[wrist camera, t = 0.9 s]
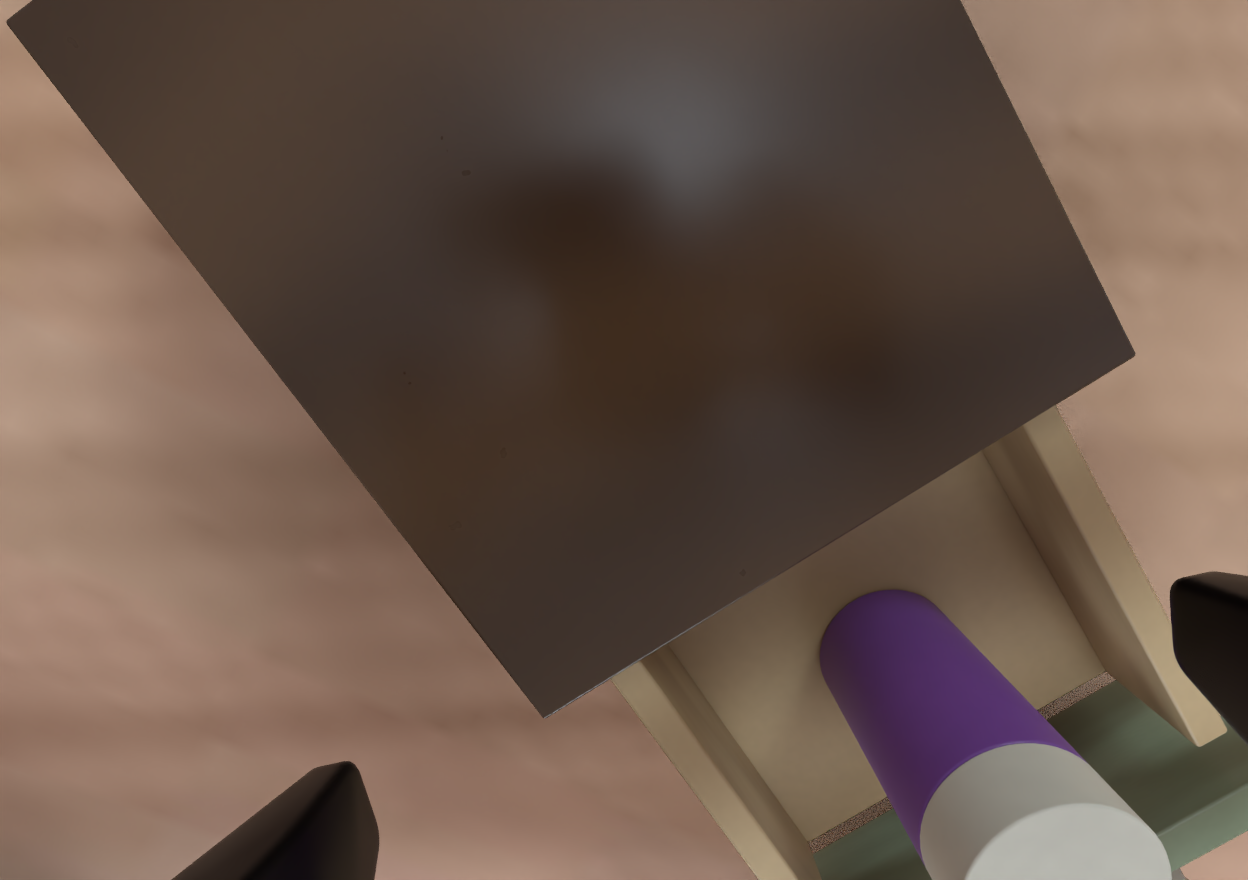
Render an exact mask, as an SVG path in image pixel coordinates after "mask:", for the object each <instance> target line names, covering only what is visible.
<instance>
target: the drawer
mask: <svg viewBox="0 0 1248 880" xmlns="http://www.w3.org/2000/svg"><path fill="white" fill-rule="evenodd" d="M882 590H903V591H908V592H912V593H916V594H918V595H921V596H923V597H925V598H926V599H928V600H930V601H931V602H932V603H934V604H935V605H936V606H937V607H938V608H939V609H940V610H941V611H942V612H943V613H944V614H945V615H946V616H947V617H948V618H949V619H950V621H951V622H952V623H953V624H954V625H955V626H956V627H957V628H958V629H959V630H960V631H961V632H962V633H963V634H964V635H965V636H966V637H967V638H968V639H969V640H970V641H971V642H972V643H973V644H974V645H975V646H976V648H977V649H978V650H979V651H980V652H981V653H982V654H983V655H984V656H985V657H986V658H987V659H988V660H989V661H990V662H991V663H992V664H993V665H994V666H995V667H996V668H997V669H998V670H999V671H1000V672H1001V674H1002V675H1003V676H1004V677H1005V678H1006V679H1007V680H1008V681H1009V682H1010V683H1011V684H1012V685H1013V686H1014V687H1015V688H1016V689H1017V690H1018V691H1019V692H1020V693H1021V694H1022V695H1023V696H1024V697H1025V698H1026V700H1027V701H1028V702H1029V703H1030V704H1031V705H1032V706H1033V707H1034V708H1035V709H1036V710H1039V709H1041V708H1042V707H1044V706H1046V705H1048V704H1049V703H1051V702H1053V701H1055V700H1056V699H1058V698H1060V697H1062V696H1063V695H1065V694H1067V693H1068V692H1070V691H1072V690H1074V689H1075V688H1077V687H1079V686H1081V685H1082V684H1084V683H1086V682H1088V681H1089V680H1091V679H1093V678H1094V677H1096V676H1098V675H1100V674H1101V673H1103V672H1105V671H1106V672H1107V673H1108V674H1110V675H1111V676H1112V677H1113V678H1114V679H1116V680H1115V681H1113V682H1112V683H1110V684H1108V685H1106V686H1105V687H1103V688H1101V689H1099V690H1098V691H1096V692H1094V693H1092V694H1091V695H1089V696H1087V697H1085V698H1084V699H1082V700H1080V701H1079V702H1077V703H1075V704H1073V705H1072V706H1070V707H1068V708H1066V709H1065V710H1063V711H1061V712H1059V713H1058V714H1056V715H1054V716H1052V717H1051V718H1049V719H1047V721H1048V722H1049V723H1050V724H1051V725H1052V727H1053V728H1054V729H1055V730H1056V731H1057V732H1058V733H1059V734H1060V735H1061V736H1062V737H1063V738H1064V739H1065V740H1066V741H1067V742H1068V743H1069V744H1070V745H1071V746H1072V747H1073V748H1074V749H1075V750H1076V751H1077V753H1078V754H1079V755H1080V756H1081V757H1082V758H1083V759H1084V760H1085V761H1086V762H1087V763H1088V764H1089V765H1090V766H1091V767H1092V768H1093V769H1094V770H1095V771H1096V772H1097V773H1098V774H1099V775H1100V776H1101V777H1102V779H1103V780H1104V781H1105V782H1106V783H1107V784H1108V785H1109V786H1110V787H1111V788H1112V789H1113V790H1114V791H1115V792H1116V793H1117V794H1118V795H1119V796H1120V797H1121V798H1122V799H1123V800H1124V801H1125V802H1126V803H1127V804H1128V806H1129V807H1130V808H1131V809H1132V810H1133V811H1134V812H1135V813H1136V814H1137V815H1138V816H1139V817H1140V818H1141V819H1142V820H1143V821H1144V822H1145V823H1146V824H1147V825H1148V826H1149V827H1150V828H1151V829H1152V830H1153V832H1154V833H1155V834H1156V835H1157V837H1158V838H1159V840H1160V841H1161V842H1162V844H1163V846H1164V849H1165V851H1166V853H1167V856H1168V859H1169V863H1170V866H1171V874H1172V880H1188V879H1187V878H1185V876H1184V875H1183V873H1182V871H1181V870H1180V867H1182V866H1184V865H1186V864H1188V863H1189V862H1191V861H1193V860H1195V859H1197V858H1199V857H1200V856H1202V855H1204V854H1206V853H1208V852H1210V851H1211V850H1213V849H1215V848H1217V847H1219V846H1221V845H1222V844H1224V843H1226V842H1228V841H1230V840H1232V839H1233V838H1235V837H1237V836H1239V835H1241V834H1242V833H1244V832H1246V831H1248V746H1247V744H1246V743H1245V742H1244V741H1243V740H1242V739H1241V738H1240V736H1239V735H1238V734H1237V733H1236V732H1235V731H1234V730H1233V729H1232V727H1231V726H1230V725H1229V724H1228V723H1227V722H1226V721H1225V719H1224V718H1223V717H1222V716H1221V715H1219V713H1218V711H1217V710H1216V709H1215V708H1214V707H1213V706H1212V705H1211V703H1210V702H1209V701H1208V700H1207V699H1206V698H1205V697H1204V696H1203V694H1202V693H1201V692H1200V691H1199V690H1198V689H1197V688H1196V686H1195V685H1194V684H1193V683H1192V682H1191V681H1190V680H1189V678H1188V677H1187V676H1186V675H1185V674H1184V672H1183V671H1182V669H1181V668H1180V666H1179V665H1178V662H1177V660H1176V658H1175V654H1174V650H1173V640H1172V624H1171V622H1170V620H1169V619H1168V617H1167V615H1166V613H1165V611H1164V609H1163V607H1162V605H1161V603H1160V602H1159V600H1158V598H1157V596H1156V594H1155V592H1154V590H1153V588H1152V586H1151V585H1150V583H1149V581H1148V579H1147V577H1146V575H1145V573H1144V571H1143V569H1142V568H1141V566H1140V564H1139V562H1138V560H1137V558H1136V556H1135V554H1134V552H1133V551H1132V549H1131V547H1130V545H1129V543H1128V541H1127V539H1126V537H1125V535H1124V534H1123V532H1122V530H1121V528H1120V526H1119V524H1118V522H1117V520H1116V518H1115V517H1114V515H1113V513H1112V511H1111V509H1110V507H1109V505H1108V503H1107V502H1106V500H1105V498H1104V496H1103V494H1102V492H1101V490H1100V488H1099V486H1098V485H1097V483H1096V481H1095V479H1094V477H1093V475H1092V473H1091V471H1090V469H1089V468H1088V466H1087V464H1086V462H1085V460H1084V458H1083V456H1082V454H1081V452H1080V451H1079V449H1078V447H1077V445H1076V443H1075V441H1074V439H1073V437H1072V435H1071V434H1070V432H1069V430H1068V428H1067V426H1066V424H1065V422H1064V420H1063V418H1062V417H1061V415H1060V413H1059V411H1058V409H1057V407H1056V405H1055V406H1053V407H1051V408H1050V409H1048V410H1047V411H1045V412H1043V413H1042V414H1040V415H1038V416H1037V417H1035V418H1034V419H1032V420H1030V421H1029V422H1027V423H1025V424H1024V425H1022V426H1020V427H1019V428H1017V429H1016V430H1014V431H1012V432H1011V433H1009V434H1007V435H1006V436H1004V437H1003V438H1001V439H999V440H998V441H996V442H994V443H993V444H991V445H990V446H988V447H986V448H985V449H983V450H981V451H980V452H978V453H977V454H975V455H973V456H972V457H970V458H968V459H967V460H965V461H964V462H962V463H960V464H959V465H957V466H955V467H954V468H952V469H951V470H949V471H947V472H946V473H944V474H942V475H941V476H939V477H938V478H936V479H934V480H933V481H931V482H929V483H928V484H926V485H925V486H923V487H921V488H920V489H918V490H916V491H915V492H913V493H912V494H910V495H908V496H907V497H905V498H903V499H902V500H900V501H899V502H897V503H895V504H894V505H892V506H890V507H889V508H887V509H886V510H884V511H882V512H881V513H879V514H877V515H876V516H874V517H873V518H871V519H869V520H868V521H866V522H864V523H863V524H861V525H859V526H858V527H856V528H855V529H853V530H851V531H850V532H848V533H846V534H845V535H843V536H842V537H840V538H838V539H837V540H835V541H833V542H832V543H830V544H829V545H827V546H825V547H824V548H822V549H820V550H819V551H817V552H816V553H814V554H812V555H811V556H809V557H807V558H806V559H804V560H803V561H801V562H799V563H798V564H796V565H794V566H793V567H791V568H790V569H788V570H786V571H785V572H783V573H781V574H780V575H778V576H777V577H775V578H773V579H772V580H770V581H768V582H767V583H765V584H764V585H762V586H760V587H759V588H757V589H755V590H754V591H752V592H751V593H749V594H747V595H746V596H744V597H742V598H741V599H739V600H738V601H736V602H734V603H733V604H731V605H729V606H728V607H726V608H725V609H723V610H721V611H720V612H718V613H716V614H715V615H713V616H711V617H710V618H708V619H707V620H705V621H703V622H702V623H700V624H698V625H697V626H695V627H694V628H692V629H690V630H689V631H687V632H685V633H684V634H682V635H681V636H679V637H677V638H676V639H674V640H672V641H671V642H669V643H668V644H666V645H664V646H663V647H661V648H659V649H658V650H656V651H655V652H653V653H651V654H650V655H648V656H646V657H645V658H643V659H642V660H640V661H638V662H637V663H635V664H633V665H632V666H630V667H629V668H627V669H625V670H624V671H622V672H620V673H619V674H617V675H616V676H614V677H612V678H611V681H612V682H613V683H614V685H615V686H616V687H617V689H618V690H619V692H620V693H621V694H622V696H623V697H624V698H625V700H626V701H627V702H628V704H629V705H630V706H631V708H632V709H633V710H634V712H635V713H636V715H637V716H638V717H639V719H640V720H641V721H642V723H643V724H644V725H645V727H646V728H647V729H648V731H649V732H650V734H651V735H652V736H653V738H654V739H655V740H656V742H657V743H658V744H659V746H660V747H661V748H662V750H663V751H664V752H665V754H666V755H667V757H668V758H669V759H670V761H671V762H672V763H673V765H674V766H675V767H676V769H677V770H678V771H679V773H680V774H681V775H682V777H683V778H684V780H685V781H686V782H687V784H688V785H689V786H690V788H691V789H692V790H693V792H694V793H695V794H696V796H697V797H698V799H699V800H700V801H701V803H702V804H703V805H704V807H705V808H706V809H707V811H708V812H709V813H710V815H711V816H712V817H713V819H714V820H715V822H716V823H717V824H718V826H719V827H720V828H721V830H722V831H723V832H724V834H725V835H726V836H727V838H728V839H729V840H730V842H731V843H732V845H733V846H734V847H735V849H736V850H737V851H738V853H739V854H740V855H741V857H742V858H743V859H744V861H745V862H746V864H747V865H748V866H749V868H750V869H751V870H752V872H753V873H754V874H755V876H756V877H757V878H758V880H932V878H931V877H930V875H929V873H928V871H927V869H926V867H925V865H924V864H923V862H922V860H921V858H920V856H919V854H918V853H917V851H916V849H915V847H914V845H913V843H912V841H911V840H910V838H909V836H908V834H907V832H906V830H905V828H904V827H903V825H902V823H901V821H900V819H899V817H898V815H897V814H896V812H895V810H894V808H892V809H891V810H889V811H887V812H885V813H884V814H882V815H880V816H878V817H877V818H875V819H873V820H871V821H870V822H868V823H866V824H864V825H863V826H861V827H859V828H858V829H856V830H854V831H852V832H851V833H849V834H847V835H845V836H844V837H842V838H840V839H838V840H837V841H835V842H833V843H831V844H830V845H828V846H826V847H824V848H823V849H821V850H819V851H817V852H816V853H814V854H812V851H811V849H810V846H809V843H808V842H810V841H812V840H813V839H815V838H817V837H819V836H820V835H822V834H824V833H826V832H827V831H829V830H831V829H833V828H834V827H836V826H838V825H839V824H841V823H843V822H845V821H846V820H848V819H850V818H852V817H853V816H855V815H857V814H859V813H860V812H862V811H864V810H866V809H867V808H869V807H871V806H872V805H874V804H876V803H878V802H879V801H881V800H883V799H885V798H886V797H887V795H886V793H885V791H884V790H883V788H882V786H881V784H880V782H879V780H878V778H877V777H876V775H875V773H874V771H873V769H872V767H871V765H870V764H869V762H868V760H867V758H866V756H865V754H864V752H863V751H862V749H861V747H860V745H859V743H858V741H857V739H856V738H855V736H854V734H853V732H852V730H851V728H850V726H849V725H848V723H847V721H846V719H845V717H844V715H843V714H842V712H841V710H840V708H839V706H838V704H837V702H836V701H835V699H834V697H833V695H832V693H831V691H830V689H829V688H828V686H827V684H826V682H825V680H824V677H823V675H822V671H821V667H820V648H821V644H822V640H823V637H824V634H825V632H826V630H827V628H828V626H829V624H830V623H831V621H832V620H833V618H834V617H835V616H836V615H837V614H838V613H839V612H840V611H841V610H842V609H843V608H844V607H845V606H846V605H848V604H849V603H851V602H852V601H854V600H856V599H858V598H859V597H861V596H864V595H866V594H869V593H872V592H876V591H882Z"/></svg>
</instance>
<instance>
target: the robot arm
mask: <svg viewBox="0 0 1248 880" xmlns="http://www.w3.org/2000/svg"><path fill="white" fill-rule="evenodd" d="M1170 608H1171V624H1172V640H1173V650H1174V654H1175V658H1176V660H1177V662H1178V665H1179V666H1180V668H1181V669H1182V671H1183V672H1184V674H1185V675H1186V676H1187V677H1188V678H1189V680H1190V681H1191V682H1192V683H1193V684H1194V685H1195V686H1196V688H1197V689H1198V690H1199V691H1200V692H1201V693H1202V694H1203V696H1204V697H1205V698H1206V699H1207V700H1208V701H1209V702H1210V703H1211V705H1212V706H1213V707H1214V708H1215V709H1216V710H1217V711H1218V713H1219V714H1220V715H1221V716H1222V717H1223V718H1224V719H1225V721H1226V722H1227V723H1228V724H1229V725H1230V726H1231V727H1232V729H1233V730H1234V731H1235V732H1236V733H1237V734H1238V735H1239V736H1240V738H1241V739H1242V740H1243V741H1244V742H1245V743H1246V744H1247V746H1248V576H1243V575H1237V574H1230V573H1223V572H1206V573H1202V574H1197V575H1193V576H1188V577H1183V578H1180V579H1178V580H1176V581H1175V582H1174V583H1173V585H1172V586H1171V590H1170ZM378 851H379V831H378V826H377V822H376V819H375V816H374V813H373V810H372V807H371V804H370V801H369V798H368V795H367V792H366V789H365V786H364V783H363V781H362V778H361V775H360V772H359V770H358V769H357V767H356V766H355V764H353V763H352V762H350V761H343V762H339V763H334V764H329V765H325V766H320V767H317V768H314V769H313V770H311V771H310V772H308V773H307V774H306V775H305V776H303V777H302V778H301V779H299V780H298V781H297V782H296V783H294V784H293V785H292V786H291V787H289V788H288V789H287V790H285V791H284V792H283V793H282V794H280V795H279V796H278V797H277V798H275V799H274V800H273V801H271V802H270V803H269V804H268V805H266V806H265V807H264V808H262V809H261V810H260V811H259V812H257V813H256V814H255V815H254V816H252V817H251V818H250V819H248V820H247V821H246V822H245V823H243V824H242V825H241V826H239V827H238V828H237V829H236V830H234V831H233V832H232V833H231V834H229V835H228V836H227V837H225V838H224V839H223V840H222V841H220V842H219V843H218V844H216V845H215V846H214V847H213V848H211V849H210V850H209V851H208V852H206V853H205V854H204V855H202V856H201V857H200V858H199V859H197V860H196V861H195V862H193V863H192V864H191V865H190V866H188V867H187V868H186V869H185V870H183V871H182V872H181V873H179V874H178V875H177V876H176V877H174V878H173V879H172V880H374V878H375V871H376V864H377V858H378Z"/></svg>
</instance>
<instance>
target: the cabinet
mask: <svg viewBox="0 0 1248 880" xmlns="http://www.w3.org/2000/svg"><path fill="white" fill-rule="evenodd" d="M7 25H8V26H9V27H10V29H11V30H12V31H13V33H14V34H15V35H16V37H17V38H18V39H19V40H20V42H21V43H22V44H23V46H24V47H25V48H26V49H27V51H28V52H29V53H30V55H31V56H32V57H33V59H34V60H35V61H36V62H37V64H38V65H39V66H40V68H41V69H42V70H43V71H44V73H45V74H46V75H47V77H48V78H49V79H50V81H51V82H52V83H53V84H54V86H55V87H56V88H57V90H58V91H59V92H60V93H61V95H62V96H63V97H64V99H65V100H66V101H67V103H68V104H69V105H70V106H71V108H72V109H73V110H74V112H75V113H76V114H77V115H78V117H79V118H80V119H81V121H82V122H83V123H84V125H85V126H86V127H87V128H88V130H89V131H90V132H91V134H92V135H93V136H94V137H95V139H96V140H97V141H98V143H99V144H100V145H101V147H102V148H103V149H104V150H105V152H106V153H107V154H108V156H109V157H110V158H111V159H112V161H113V162H114V163H115V165H116V166H117V167H118V169H119V170H120V171H121V172H122V174H123V175H124V176H125V178H126V179H127V180H128V181H129V183H130V184H131V185H132V187H133V188H134V189H135V191H136V192H137V193H138V194H139V196H140V197H141V198H142V200H143V201H144V202H145V203H146V205H147V206H148V207H149V209H150V210H151V211H152V213H153V214H154V215H155V216H156V218H157V219H158V220H159V222H160V223H161V224H162V225H163V227H164V228H165V229H166V231H167V232H168V233H169V235H170V236H171V237H172V238H173V240H174V241H175V242H176V244H177V245H178V246H179V247H180V249H181V250H182V251H183V253H184V254H185V255H186V257H187V258H188V259H189V260H190V262H191V263H192V264H193V266H194V267H195V268H196V269H197V271H198V272H199V273H200V275H201V276H202V277H203V279H204V280H205V281H206V282H207V284H208V285H209V286H210V288H211V289H212V290H213V291H214V293H215V294H216V295H217V297H218V298H219V299H220V300H221V302H222V303H223V304H224V306H225V307H226V308H227V310H228V311H229V312H230V313H231V315H232V316H233V317H234V319H235V320H236V321H237V322H238V324H239V325H240V326H241V328H242V329H243V330H244V332H245V333H246V334H247V335H248V337H249V338H250V339H251V341H252V342H253V343H254V344H255V346H256V347H257V348H258V350H259V351H260V352H261V354H262V355H263V356H264V357H265V359H266V360H267V361H268V363H269V364H270V365H271V366H272V368H273V369H274V370H275V372H276V373H277V374H278V376H279V377H280V378H281V379H282V381H283V382H284V383H285V385H286V386H287V387H288V388H289V390H290V391H291V392H292V394H293V395H294V396H295V398H296V399H297V400H298V401H299V403H300V404H301V405H302V407H303V408H304V409H305V410H306V412H307V413H308V414H309V416H310V417H311V418H312V420H313V421H314V422H315V423H316V425H317V426H318V427H319V429H320V430H321V431H322V432H323V434H324V435H325V436H326V438H327V439H328V440H329V442H330V443H331V444H332V445H333V447H334V448H335V449H336V451H337V452H338V453H339V454H340V456H341V457H342V458H343V460H344V461H345V462H346V464H347V465H348V466H349V467H350V469H351V470H352V471H353V473H354V474H355V475H356V476H357V478H358V479H359V480H360V482H361V483H362V484H363V486H364V487H365V488H366V489H367V491H368V492H369V493H370V495H371V496H372V497H373V498H374V500H375V501H376V502H377V504H378V505H379V506H380V508H381V509H382V510H383V511H384V513H385V514H386V515H387V517H388V518H389V519H390V520H391V522H392V523H393V524H394V526H395V527H396V528H397V530H398V531H399V532H400V533H401V535H402V536H403V537H404V539H405V540H406V541H407V542H408V544H409V545H410V546H411V548H412V549H413V550H414V552H415V553H416V554H417V555H418V557H419V558H420V559H421V561H422V562H423V563H424V564H425V566H426V567H427V568H428V570H429V571H430V572H431V574H432V575H433V576H434V577H435V579H436V580H437V581H438V583H439V584H440V585H441V586H442V588H443V589H444V590H445V592H446V593H447V594H448V596H449V597H450V598H451V599H452V601H453V602H454V603H455V605H456V606H457V607H458V608H459V610H460V611H461V612H462V614H463V615H464V616H465V618H466V619H467V620H468V621H469V623H470V624H471V625H472V627H473V628H474V629H475V630H476V632H477V633H478V634H479V636H480V637H481V638H482V640H483V641H484V642H485V643H486V645H487V646H488V647H489V649H490V650H491V651H492V652H493V654H494V655H495V656H496V658H497V659H498V660H499V661H500V663H501V664H502V665H503V667H504V668H505V669H506V671H507V672H508V673H509V674H510V676H511V677H512V678H513V680H514V681H515V682H516V683H517V685H518V686H519V687H520V689H521V690H522V691H523V693H524V694H525V695H526V696H527V698H528V699H529V700H530V702H531V703H532V704H533V705H534V707H535V708H536V709H537V711H538V712H539V713H540V715H541V716H542V717H543V718H547V717H549V716H550V715H552V714H554V713H555V712H557V711H559V710H560V709H562V708H564V707H565V706H567V705H568V704H570V703H572V702H573V701H575V700H577V699H578V698H580V697H581V696H583V695H585V694H586V693H588V692H590V691H591V690H593V689H594V688H596V687H598V686H599V685H601V684H603V683H604V682H606V681H607V680H609V679H611V678H612V677H614V676H616V675H617V674H619V673H620V672H622V671H624V670H625V669H627V668H629V667H630V666H632V665H633V664H635V663H637V662H638V661H640V660H642V659H643V658H645V657H646V656H648V655H650V654H651V653H653V652H655V651H656V650H658V649H659V648H661V647H663V646H664V645H666V644H668V643H669V642H671V641H672V640H674V639H676V638H677V637H679V636H681V635H682V634H684V633H685V632H687V631H689V630H690V629H692V628H694V627H695V626H697V625H698V624H700V623H702V622H703V621H705V620H707V619H708V618H710V617H711V616H713V615H715V614H716V613H718V612H720V611H721V610H723V609H725V608H726V607H728V606H729V605H731V604H733V603H734V602H736V601H738V600H739V599H741V598H742V597H744V596H746V595H747V594H749V593H751V592H752V591H754V590H755V589H757V588H759V587H760V586H762V585H764V584H765V583H767V582H768V581H770V580H772V579H773V578H775V577H777V576H778V575H780V574H781V573H783V572H785V571H786V570H788V569H790V568H791V567H793V566H794V565H796V564H798V563H799V562H801V561H803V560H804V559H806V558H807V557H809V556H811V555H812V554H814V553H816V552H817V551H819V550H820V549H822V548H824V547H825V546H827V545H829V544H830V543H832V542H833V541H835V540H837V539H838V538H840V537H842V536H843V535H845V534H846V533H848V532H850V531H851V530H853V529H855V528H856V527H858V526H859V525H861V524H863V523H864V522H866V521H868V520H869V519H871V518H873V517H874V516H876V515H877V514H879V513H881V512H882V511H884V510H886V509H887V508H889V507H890V506H892V505H894V504H895V503H897V502H899V501H900V500H902V499H903V498H905V497H907V496H908V495H910V494H912V493H913V492H915V491H916V490H918V489H920V488H921V487H923V486H925V485H926V484H928V483H929V482H931V481H933V480H934V479H936V478H938V477H939V476H941V475H942V474H944V473H946V472H947V471H949V470H951V469H952V468H954V467H955V466H957V465H959V464H960V463H962V462H964V461H965V460H967V459H968V458H970V457H972V456H973V455H975V454H977V453H978V452H980V451H981V450H983V449H985V448H986V447H988V446H990V445H991V444H993V443H994V442H996V441H998V440H999V439H1001V438H1003V437H1004V436H1006V435H1007V434H1009V433H1011V432H1012V431H1014V430H1016V429H1017V428H1019V427H1020V426H1022V425H1024V424H1025V423H1027V422H1029V421H1030V420H1032V419H1034V418H1035V417H1037V416H1038V415H1040V414H1042V413H1043V412H1045V411H1047V410H1048V409H1050V408H1051V407H1053V406H1055V405H1056V404H1058V403H1060V402H1061V401H1063V400H1064V399H1066V398H1068V397H1069V396H1071V395H1073V394H1074V393H1076V392H1077V391H1079V390H1081V389H1082V388H1084V387H1086V386H1087V385H1089V384H1090V383H1092V382H1094V381H1095V380H1097V379H1099V378H1100V377H1102V376H1103V375H1105V374H1107V373H1108V372H1110V371H1112V370H1113V369H1115V368H1116V367H1118V366H1120V365H1121V364H1123V363H1125V362H1126V361H1128V360H1129V359H1131V358H1133V357H1134V356H1135V352H1134V350H1133V348H1132V346H1131V344H1130V341H1129V339H1128V337H1127V335H1126V333H1125V331H1124V329H1123V327H1122V325H1121V323H1120V321H1119V319H1118V317H1117V315H1116V313H1115V311H1114V309H1113V307H1112V305H1111V303H1110V301H1109V299H1108V297H1107V295H1106V293H1105V291H1104V289H1103V287H1102V285H1101V283H1100V281H1099V279H1098V277H1097V275H1096V273H1095V271H1094V269H1093V267H1092V265H1091V263H1090V261H1089V259H1088V257H1087V255H1086V253H1085V251H1084V249H1083V247H1082V245H1081V243H1080V241H1079V239H1078V237H1077V235H1076V233H1075V231H1074V229H1073V227H1072V225H1071V223H1070V220H1069V218H1068V216H1067V214H1066V212H1065V210H1064V208H1063V206H1062V204H1061V202H1060V200H1059V198H1058V196H1057V194H1056V192H1055V190H1054V188H1053V186H1052V184H1051V182H1050V180H1049V178H1048V176H1047V174H1046V172H1045V170H1044V168H1043V166H1042V164H1041V162H1040V160H1039V158H1038V156H1037V154H1036V152H1035V150H1034V148H1033V146H1032V144H1031V142H1030V140H1029V138H1028V136H1027V134H1026V132H1025V130H1024V128H1023V126H1022V124H1021V122H1020V120H1019V118H1018V116H1017V114H1016V112H1015V110H1014V108H1013V106H1012V104H1011V102H1010V100H1009V97H1008V95H1007V93H1006V91H1005V89H1004V87H1003V85H1002V83H1001V81H1000V79H999V77H998V75H997V73H996V71H995V69H994V67H993V65H992V63H991V61H990V59H989V57H988V55H987V53H986V51H985V49H984V47H983V45H982V43H981V41H980V39H979V37H978V35H977V33H976V31H975V29H974V27H973V25H972V23H971V21H970V19H969V17H968V15H967V13H966V11H965V9H964V7H963V5H962V3H961V1H960V0H32V1H31V2H30V3H28V4H27V5H26V6H25V7H23V8H22V9H21V10H19V11H18V12H17V13H15V14H14V15H13V16H12V17H10V18H9V19H8V20H7Z"/></svg>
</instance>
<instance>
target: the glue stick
mask: <svg viewBox="0 0 1248 880" xmlns="http://www.w3.org/2000/svg"><path fill="white" fill-rule="evenodd" d="M820 667H821V671H822V675H823V677H824V680H825V682H826V684H827V686H828V688H829V689H830V691H831V693H832V695H833V697H834V699H835V701H836V702H837V704H838V706H839V708H840V710H841V712H842V714H843V715H844V717H845V719H846V721H847V723H848V725H849V726H850V728H851V730H852V732H853V734H854V736H855V738H856V739H857V741H858V743H859V745H860V747H861V749H862V751H863V752H864V754H865V756H866V758H867V760H868V762H869V764H870V765H871V767H872V769H873V771H874V773H875V775H876V777H877V778H878V780H879V782H880V784H881V786H882V788H883V790H884V791H885V793H886V795H887V797H888V799H889V801H890V802H891V804H892V806H893V808H894V810H895V812H896V814H897V815H898V817H899V819H900V821H901V823H902V825H903V827H904V828H905V830H906V832H907V834H908V836H909V838H910V840H911V841H912V843H913V845H914V847H915V849H916V851H917V853H918V854H919V856H920V858H921V860H922V862H923V864H924V865H925V867H926V869H927V871H928V873H929V875H930V877H931V878H932V880H1172V874H1171V866H1170V863H1169V859H1168V856H1167V853H1166V851H1165V849H1164V846H1163V844H1162V842H1161V841H1160V840H1159V838H1158V837H1157V835H1156V834H1155V833H1154V832H1153V830H1152V829H1151V828H1150V827H1149V826H1148V825H1147V824H1146V823H1145V822H1144V821H1143V820H1142V819H1141V818H1140V817H1139V816H1138V815H1137V814H1136V813H1135V812H1134V811H1133V810H1132V809H1131V808H1130V807H1129V806H1128V804H1127V803H1126V802H1125V801H1124V800H1123V799H1122V798H1121V797H1120V796H1119V795H1118V794H1117V793H1116V792H1115V791H1114V790H1113V789H1112V788H1111V787H1110V786H1109V785H1108V784H1107V783H1106V782H1105V781H1104V780H1103V779H1102V777H1101V776H1100V775H1099V774H1098V773H1097V772H1096V771H1095V770H1094V769H1093V768H1092V767H1091V766H1090V765H1089V764H1088V763H1087V762H1086V761H1085V760H1084V759H1083V758H1082V757H1081V756H1080V755H1079V754H1078V753H1077V751H1076V750H1075V749H1074V748H1073V747H1072V746H1071V745H1070V744H1069V743H1068V742H1067V741H1066V740H1065V739H1064V738H1063V737H1062V736H1061V735H1060V734H1059V733H1058V732H1057V731H1056V730H1055V729H1054V728H1053V727H1052V725H1051V724H1050V723H1049V722H1048V721H1047V720H1046V719H1045V718H1044V717H1043V716H1042V715H1041V714H1040V713H1039V712H1038V711H1037V710H1036V709H1035V708H1034V707H1033V706H1032V705H1031V704H1030V703H1029V702H1028V701H1027V700H1026V698H1025V697H1024V696H1023V695H1022V694H1021V693H1020V692H1019V691H1018V690H1017V689H1016V688H1015V687H1014V686H1013V685H1012V684H1011V683H1010V682H1009V681H1008V680H1007V679H1006V678H1005V677H1004V676H1003V675H1002V674H1001V672H1000V671H999V670H998V669H997V668H996V667H995V666H994V665H993V664H992V663H991V662H990V661H989V660H988V659H987V658H986V657H985V656H984V655H983V654H982V653H981V652H980V651H979V650H978V649H977V648H976V646H975V645H974V644H973V643H972V642H971V641H970V640H969V639H968V638H967V637H966V636H965V635H964V634H963V633H962V632H961V631H960V630H959V629H958V628H957V627H956V626H955V625H954V624H953V623H952V622H951V621H950V619H949V618H948V617H947V616H946V615H945V614H944V613H943V612H942V611H941V610H940V609H939V608H938V607H937V606H936V605H935V604H934V603H932V602H931V601H930V600H928V599H926V598H925V597H923V596H921V595H918V594H916V593H912V592H908V591H903V590H882V591H876V592H872V593H869V594H866V595H864V596H861V597H859V598H858V599H856V600H854V601H852V602H851V603H849V604H848V605H846V606H845V607H844V608H843V609H842V610H841V611H840V612H839V613H838V614H837V615H836V616H835V617H834V618H833V620H832V621H831V623H830V624H829V626H828V628H827V630H826V632H825V634H824V637H823V640H822V644H821V648H820Z"/></svg>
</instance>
